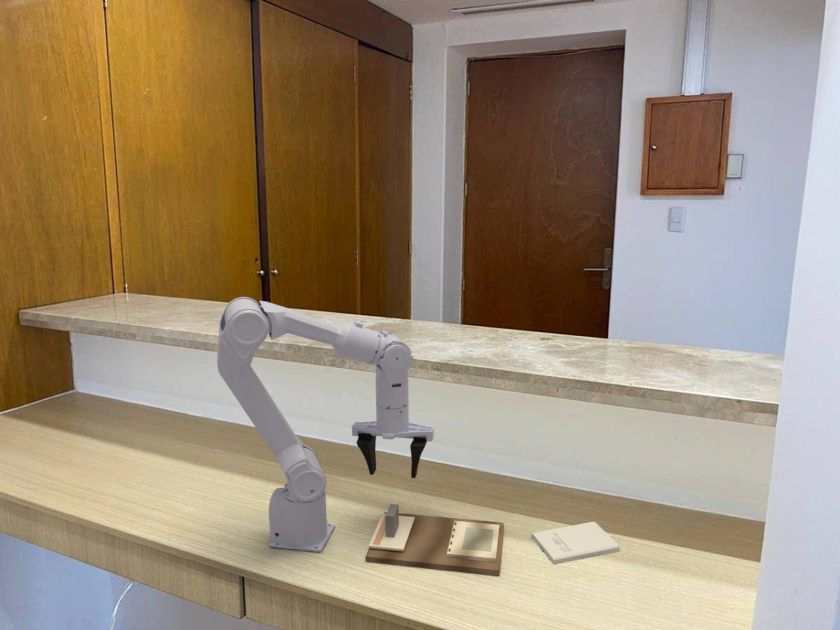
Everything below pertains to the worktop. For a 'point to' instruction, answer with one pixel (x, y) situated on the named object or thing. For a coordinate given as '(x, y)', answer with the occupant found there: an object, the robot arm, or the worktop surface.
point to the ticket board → (447, 545)
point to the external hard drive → (575, 542)
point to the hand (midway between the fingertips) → (393, 473)
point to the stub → (392, 530)
